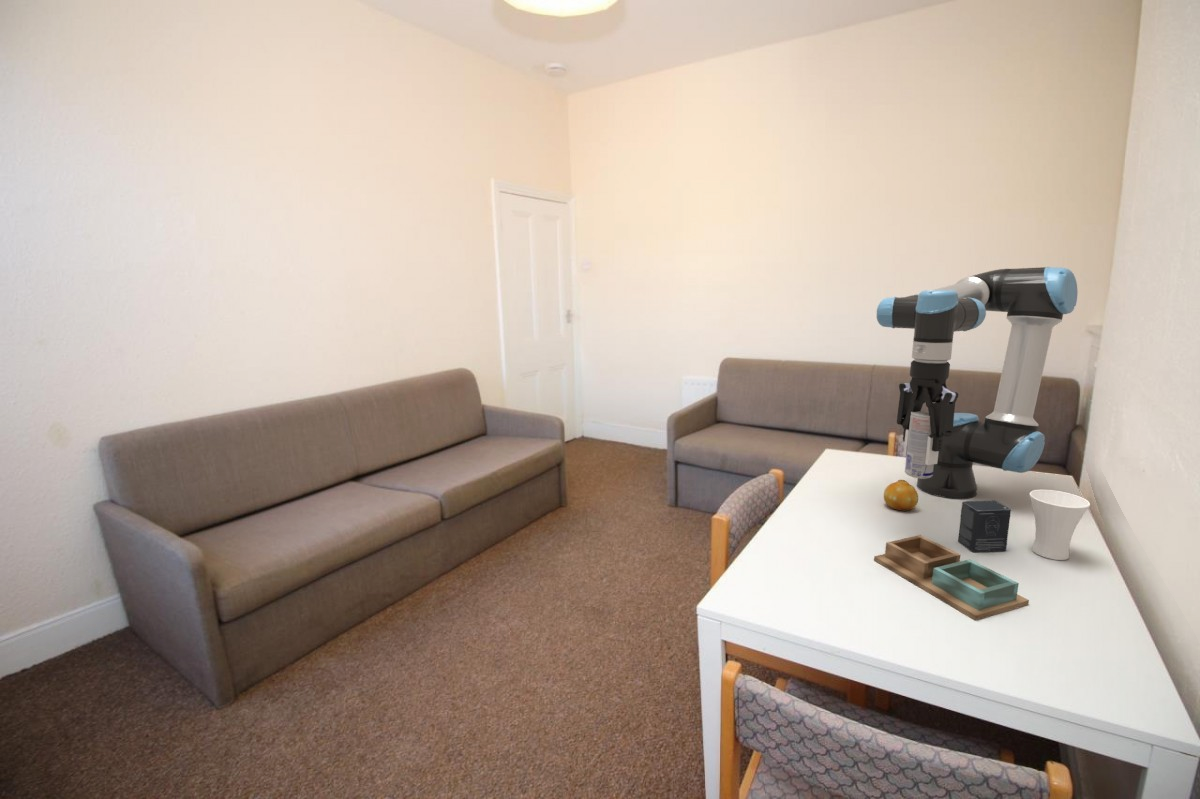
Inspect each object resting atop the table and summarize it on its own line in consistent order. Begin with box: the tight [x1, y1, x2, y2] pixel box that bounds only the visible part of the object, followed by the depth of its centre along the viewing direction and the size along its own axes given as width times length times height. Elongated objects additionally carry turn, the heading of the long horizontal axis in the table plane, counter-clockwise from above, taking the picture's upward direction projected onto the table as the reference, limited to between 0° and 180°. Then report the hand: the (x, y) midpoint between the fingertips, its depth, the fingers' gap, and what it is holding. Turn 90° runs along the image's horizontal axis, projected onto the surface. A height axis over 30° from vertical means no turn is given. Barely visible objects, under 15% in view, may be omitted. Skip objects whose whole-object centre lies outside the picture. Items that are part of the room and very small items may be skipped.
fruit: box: [883, 479, 919, 512], centre depth 150 cm, size 8×8×8 cm
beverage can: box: [904, 410, 934, 479], centre depth 125 cm, size 6×6×15 cm
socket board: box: [873, 534, 1030, 621], centre depth 114 cm, size 24×14×4 cm, turn 19°
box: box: [957, 499, 1012, 553], centre depth 127 cm, size 8×6×11 cm
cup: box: [1028, 489, 1091, 561], centre depth 123 cm, size 10×10×14 cm
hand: (919, 459), depth 126 cm, fingers closed on beverage can, 5 cm apart
